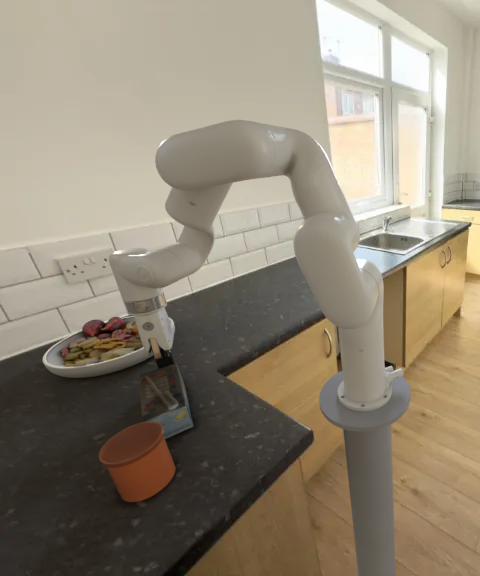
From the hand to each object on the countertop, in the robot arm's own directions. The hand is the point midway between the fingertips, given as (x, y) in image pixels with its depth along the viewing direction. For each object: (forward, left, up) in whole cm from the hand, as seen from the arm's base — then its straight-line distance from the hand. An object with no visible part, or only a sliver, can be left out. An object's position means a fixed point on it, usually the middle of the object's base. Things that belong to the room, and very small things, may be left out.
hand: (167, 369), depth 79 cm
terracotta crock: (+2, +30, -4) cm, 30 cm away
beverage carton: (0, +12, -4) cm, 12 cm away
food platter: (+15, -25, -4) cm, 30 cm away
